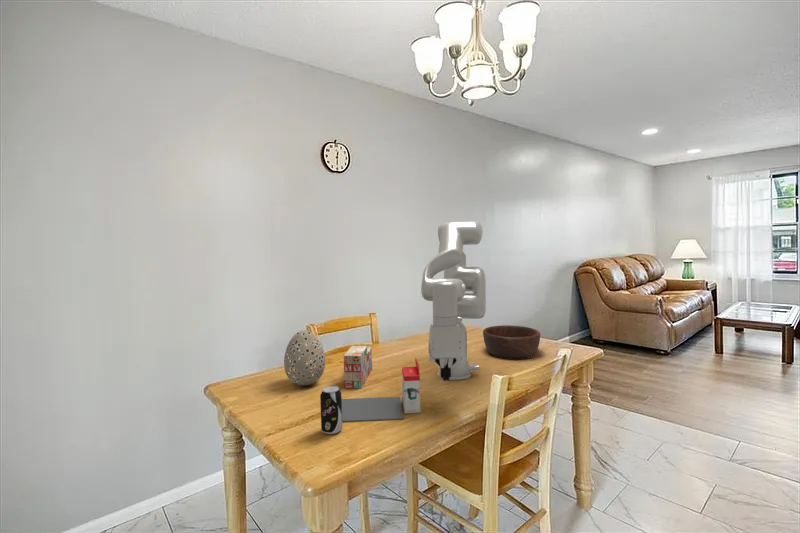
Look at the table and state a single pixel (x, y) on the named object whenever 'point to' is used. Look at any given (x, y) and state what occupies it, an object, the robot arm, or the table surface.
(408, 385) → the ink box
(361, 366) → the stack of blocks
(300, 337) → the ornament
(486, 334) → the wooden bowl
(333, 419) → the beverage can
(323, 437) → the table surface
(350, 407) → the mat
